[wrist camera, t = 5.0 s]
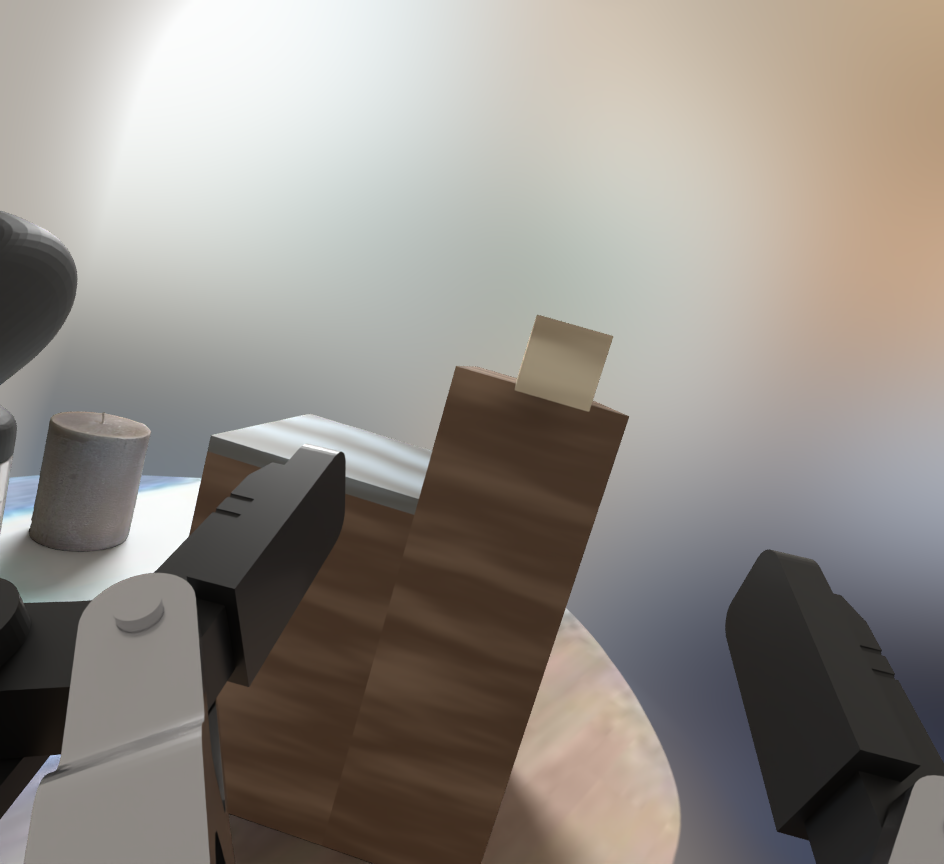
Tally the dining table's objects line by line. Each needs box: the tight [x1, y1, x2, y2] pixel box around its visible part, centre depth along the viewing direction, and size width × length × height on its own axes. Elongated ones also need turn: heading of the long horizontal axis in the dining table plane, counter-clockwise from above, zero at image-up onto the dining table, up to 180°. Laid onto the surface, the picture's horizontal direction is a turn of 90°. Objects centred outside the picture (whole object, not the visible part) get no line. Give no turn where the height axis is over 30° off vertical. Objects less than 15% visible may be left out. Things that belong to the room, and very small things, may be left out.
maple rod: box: [515, 315, 613, 412], centre depth 31 cm, size 22×3×3 cm, turn 175°
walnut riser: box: [189, 366, 629, 864], centre depth 39 cm, size 15×23×32 cm, turn 85°
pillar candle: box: [29, 412, 151, 551], centre depth 61 cm, size 10×10×15 cm
